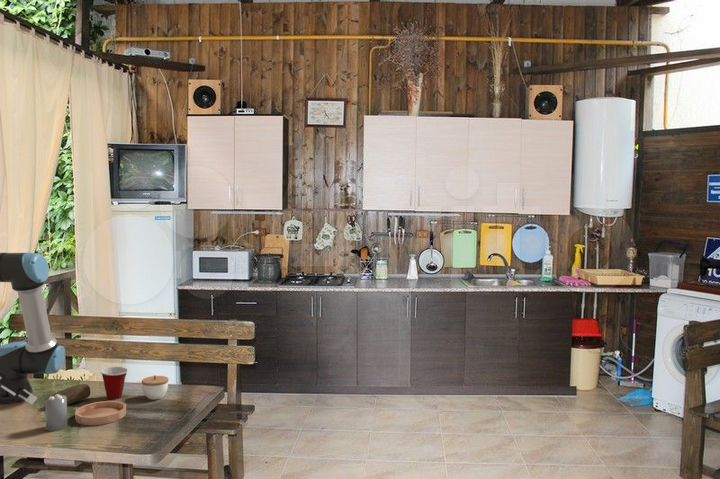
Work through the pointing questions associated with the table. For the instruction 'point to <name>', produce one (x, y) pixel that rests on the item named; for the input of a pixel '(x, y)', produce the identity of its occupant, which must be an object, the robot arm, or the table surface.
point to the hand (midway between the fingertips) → (26, 396)
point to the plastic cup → (114, 381)
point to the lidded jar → (155, 386)
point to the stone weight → (75, 393)
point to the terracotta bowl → (100, 413)
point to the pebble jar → (56, 412)
